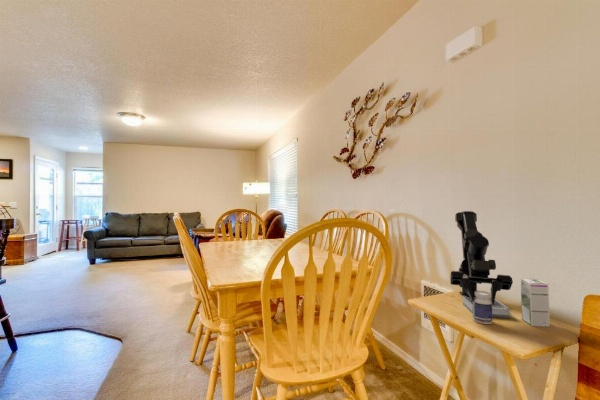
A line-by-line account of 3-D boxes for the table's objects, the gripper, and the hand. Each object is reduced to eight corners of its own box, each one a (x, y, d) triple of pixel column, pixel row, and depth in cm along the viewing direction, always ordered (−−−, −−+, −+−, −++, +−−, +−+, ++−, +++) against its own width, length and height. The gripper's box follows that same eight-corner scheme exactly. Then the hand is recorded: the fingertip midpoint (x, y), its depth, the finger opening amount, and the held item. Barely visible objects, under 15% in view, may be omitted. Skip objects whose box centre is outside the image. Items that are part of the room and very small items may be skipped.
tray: (462, 304, 115) (462, 295, 115) (493, 306, 113) (493, 297, 113) (474, 315, 104) (474, 306, 104) (509, 318, 101) (509, 308, 101)
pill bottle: (496, 324, 96) (496, 295, 96) (479, 324, 96) (479, 295, 96) (485, 317, 101) (484, 290, 102) (469, 317, 101) (469, 290, 102)
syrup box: (550, 327, 94) (550, 283, 94) (530, 326, 95) (529, 282, 95) (539, 320, 99) (539, 278, 99) (520, 319, 100) (520, 278, 101)
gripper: (450, 249, 106) (453, 287, 96) (511, 252, 99) (521, 293, 88) (448, 265, 113) (451, 302, 103) (505, 270, 106) (514, 310, 96)
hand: (483, 302), depth 97 cm, fingers closed on pill bottle, 5 cm apart
